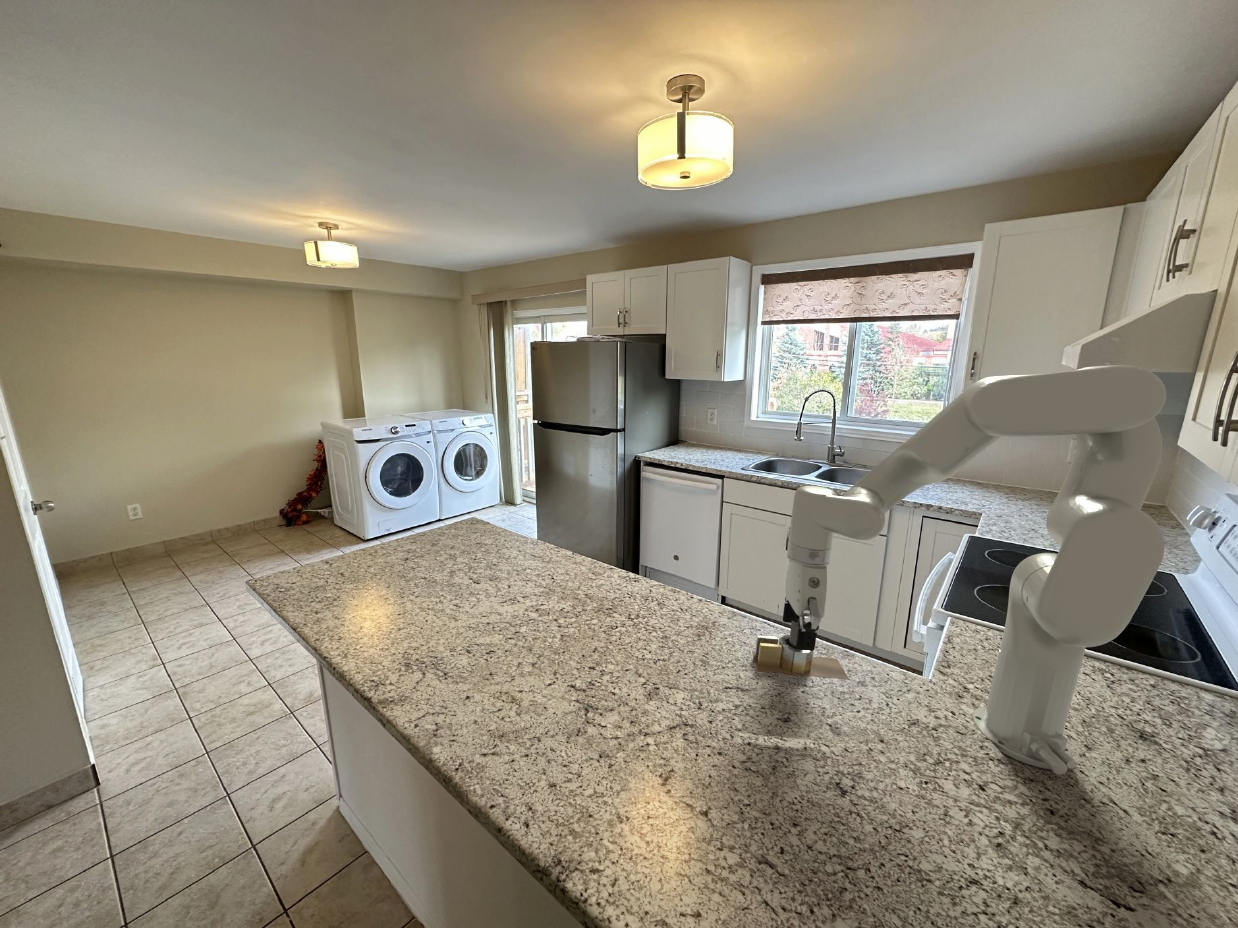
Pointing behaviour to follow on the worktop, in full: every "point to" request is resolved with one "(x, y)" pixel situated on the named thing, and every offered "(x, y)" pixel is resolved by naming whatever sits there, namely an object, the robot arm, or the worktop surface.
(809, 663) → the hinge
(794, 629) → the hinge pin
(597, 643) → the worktop surface
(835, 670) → the base board
